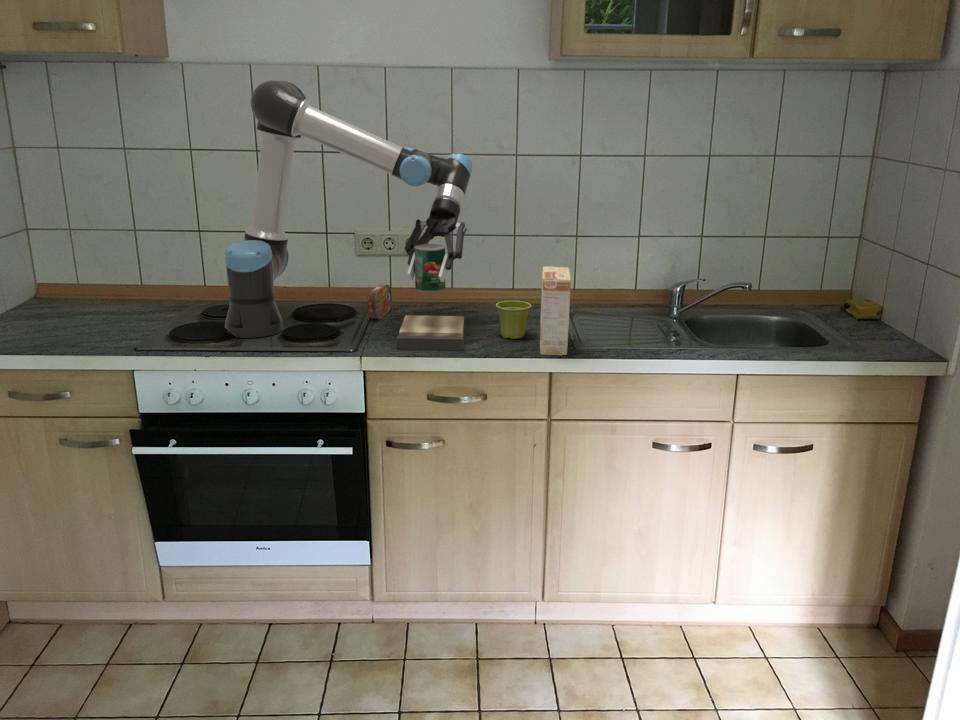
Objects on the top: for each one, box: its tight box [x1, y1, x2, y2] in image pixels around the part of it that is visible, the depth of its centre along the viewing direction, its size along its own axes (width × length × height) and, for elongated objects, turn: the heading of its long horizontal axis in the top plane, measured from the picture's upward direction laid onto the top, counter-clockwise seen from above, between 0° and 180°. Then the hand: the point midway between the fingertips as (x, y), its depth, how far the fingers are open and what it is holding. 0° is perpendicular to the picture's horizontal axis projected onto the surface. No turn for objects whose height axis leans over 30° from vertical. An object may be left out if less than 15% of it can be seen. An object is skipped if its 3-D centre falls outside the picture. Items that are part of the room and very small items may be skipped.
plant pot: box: [495, 300, 532, 340], centre depth 208 cm, size 9×9×9 cm
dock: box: [396, 314, 465, 351], centre depth 205 cm, size 17×18×4 cm
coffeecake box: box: [539, 265, 572, 356], centre depth 198 cm, size 15×7×20 cm, turn 175°
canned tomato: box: [414, 243, 446, 293], centre depth 200 cm, size 8×8×11 cm
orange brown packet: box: [366, 284, 393, 320], centre depth 226 cm, size 15×3×8 cm, turn 168°
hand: (425, 277), depth 198 cm, fingers closed on canned tomato, 8 cm apart
